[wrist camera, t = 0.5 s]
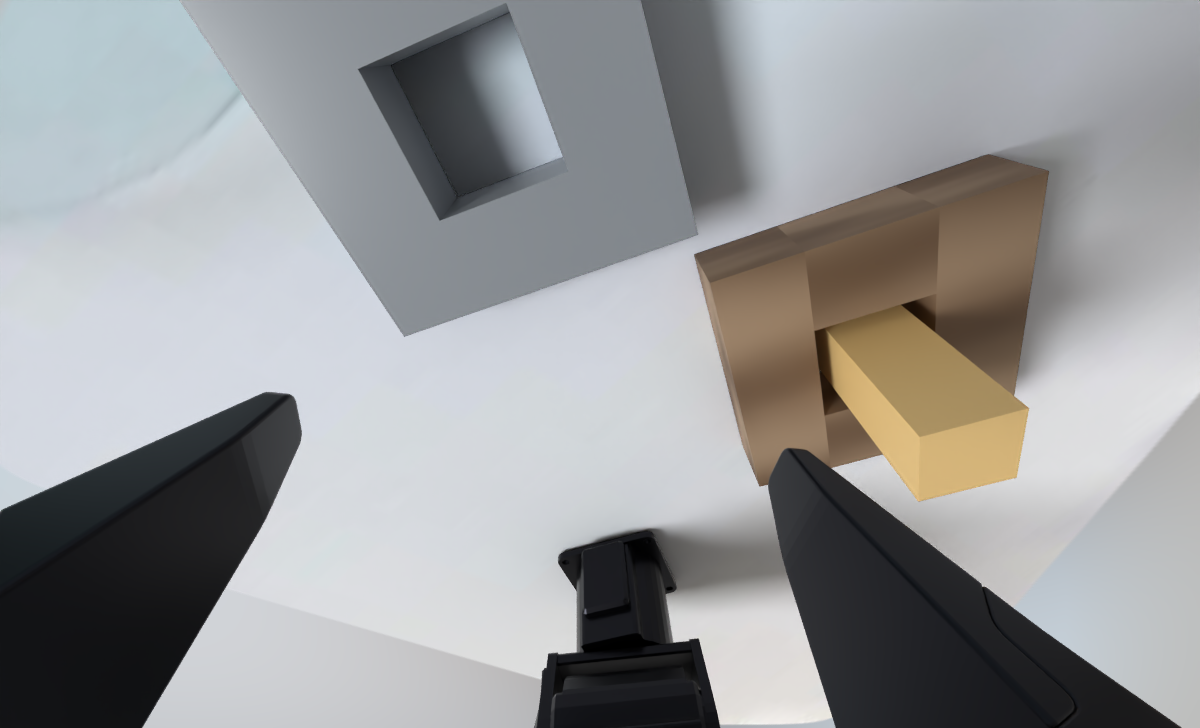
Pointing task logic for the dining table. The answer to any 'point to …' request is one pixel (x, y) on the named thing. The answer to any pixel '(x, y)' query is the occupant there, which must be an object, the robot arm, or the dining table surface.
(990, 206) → the walnut mount
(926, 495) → the ochre pin
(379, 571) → the dining table surface
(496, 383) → the dining table surface
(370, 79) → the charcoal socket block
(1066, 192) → the dining table surface
